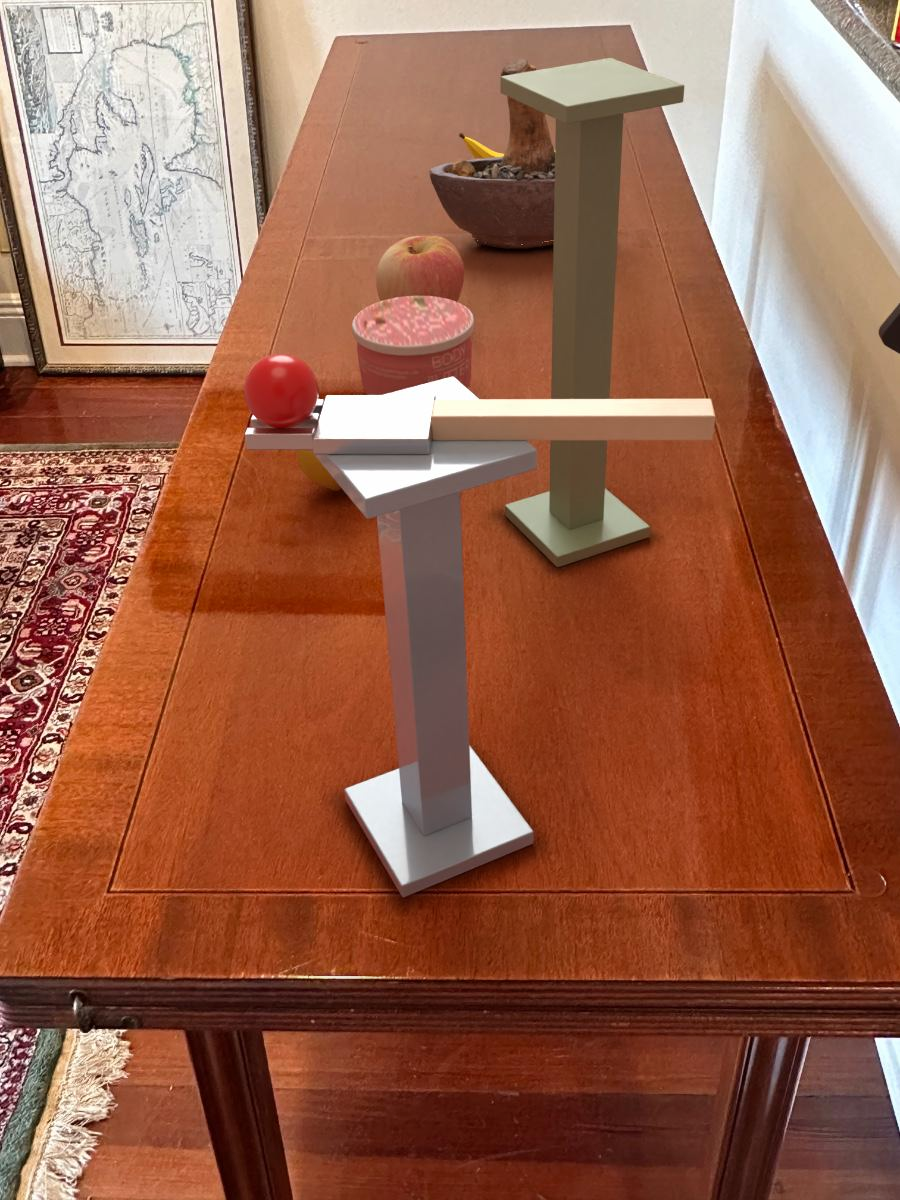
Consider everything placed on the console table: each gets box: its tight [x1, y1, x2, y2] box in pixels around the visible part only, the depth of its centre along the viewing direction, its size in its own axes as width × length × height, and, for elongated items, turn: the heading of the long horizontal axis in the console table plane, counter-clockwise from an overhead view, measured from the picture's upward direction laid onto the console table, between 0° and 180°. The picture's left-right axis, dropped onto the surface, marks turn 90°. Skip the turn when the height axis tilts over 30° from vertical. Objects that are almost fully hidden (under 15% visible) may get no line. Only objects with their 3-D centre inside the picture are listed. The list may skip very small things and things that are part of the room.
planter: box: [429, 58, 555, 250], centre depth 131 cm, size 15×17×20 cm
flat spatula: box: [243, 353, 716, 454], centre depth 51 cm, size 20×4×4 cm, turn 86°
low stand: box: [311, 377, 538, 898], centre depth 60 cm, size 8×8×25 cm
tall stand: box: [499, 57, 685, 568], centre depth 81 cm, size 8×8×32 cm
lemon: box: [295, 450, 342, 492], centre depth 94 cm, size 6×6×8 cm
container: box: [351, 296, 475, 395], centre depth 105 cm, size 10×10×8 cm
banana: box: [458, 132, 555, 159], centre depth 153 cm, size 3×19×6 cm, turn 95°
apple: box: [375, 235, 465, 302], centre depth 119 cm, size 9×9×8 cm
